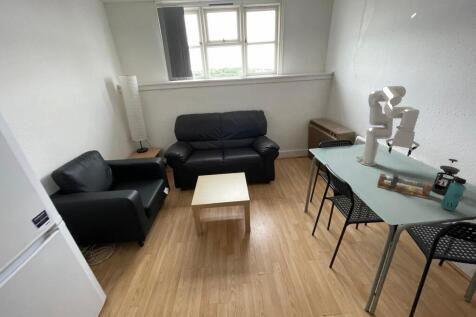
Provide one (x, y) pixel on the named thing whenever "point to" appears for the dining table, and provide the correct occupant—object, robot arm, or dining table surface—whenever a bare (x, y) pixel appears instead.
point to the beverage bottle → (454, 194)
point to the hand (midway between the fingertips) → (398, 154)
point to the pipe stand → (405, 189)
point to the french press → (444, 184)
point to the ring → (394, 179)
